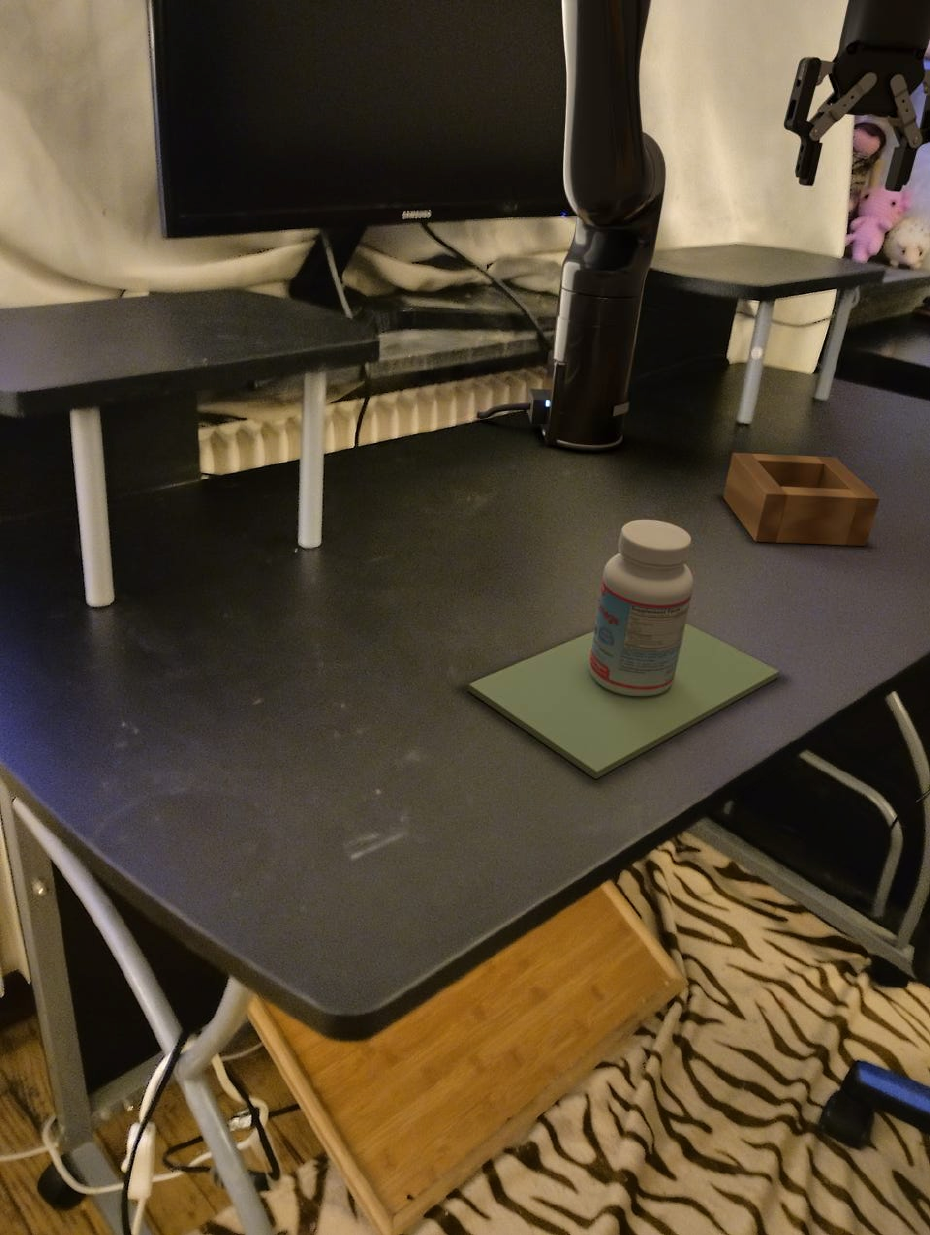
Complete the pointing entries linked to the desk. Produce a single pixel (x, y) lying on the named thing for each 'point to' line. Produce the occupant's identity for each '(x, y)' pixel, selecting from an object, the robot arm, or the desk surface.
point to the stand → (799, 499)
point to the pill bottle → (642, 610)
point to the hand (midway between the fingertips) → (848, 188)
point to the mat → (617, 699)
